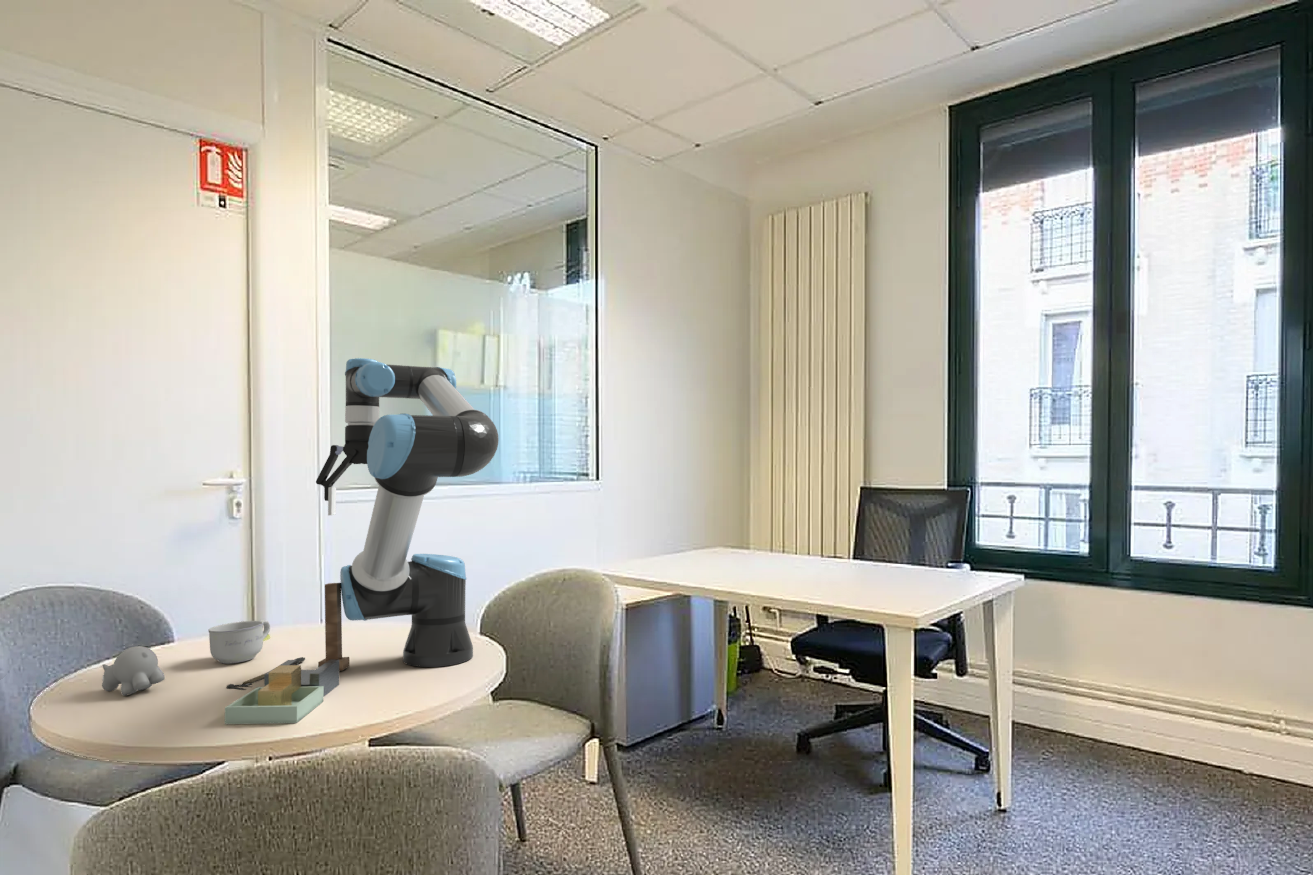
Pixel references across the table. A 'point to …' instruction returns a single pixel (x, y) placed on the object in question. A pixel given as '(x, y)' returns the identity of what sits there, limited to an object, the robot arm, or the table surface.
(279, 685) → the front bronze block
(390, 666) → the table surface
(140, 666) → the toy rhinoceros
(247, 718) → the sage tray
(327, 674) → the graphite slot block
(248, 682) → the tactical tomahawk
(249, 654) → the teacup
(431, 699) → the table surface
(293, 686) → the rear bronze block
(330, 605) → the walnut t-shaped block
